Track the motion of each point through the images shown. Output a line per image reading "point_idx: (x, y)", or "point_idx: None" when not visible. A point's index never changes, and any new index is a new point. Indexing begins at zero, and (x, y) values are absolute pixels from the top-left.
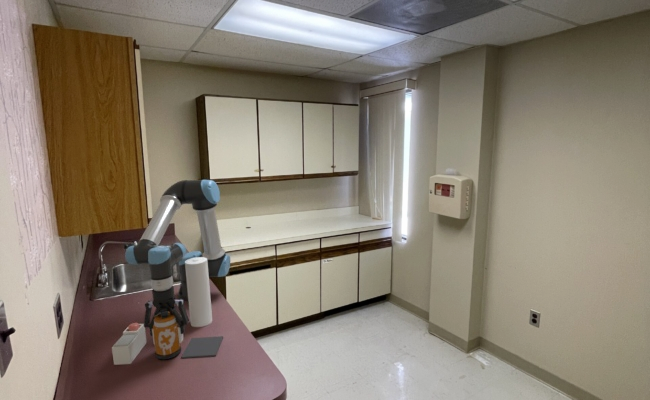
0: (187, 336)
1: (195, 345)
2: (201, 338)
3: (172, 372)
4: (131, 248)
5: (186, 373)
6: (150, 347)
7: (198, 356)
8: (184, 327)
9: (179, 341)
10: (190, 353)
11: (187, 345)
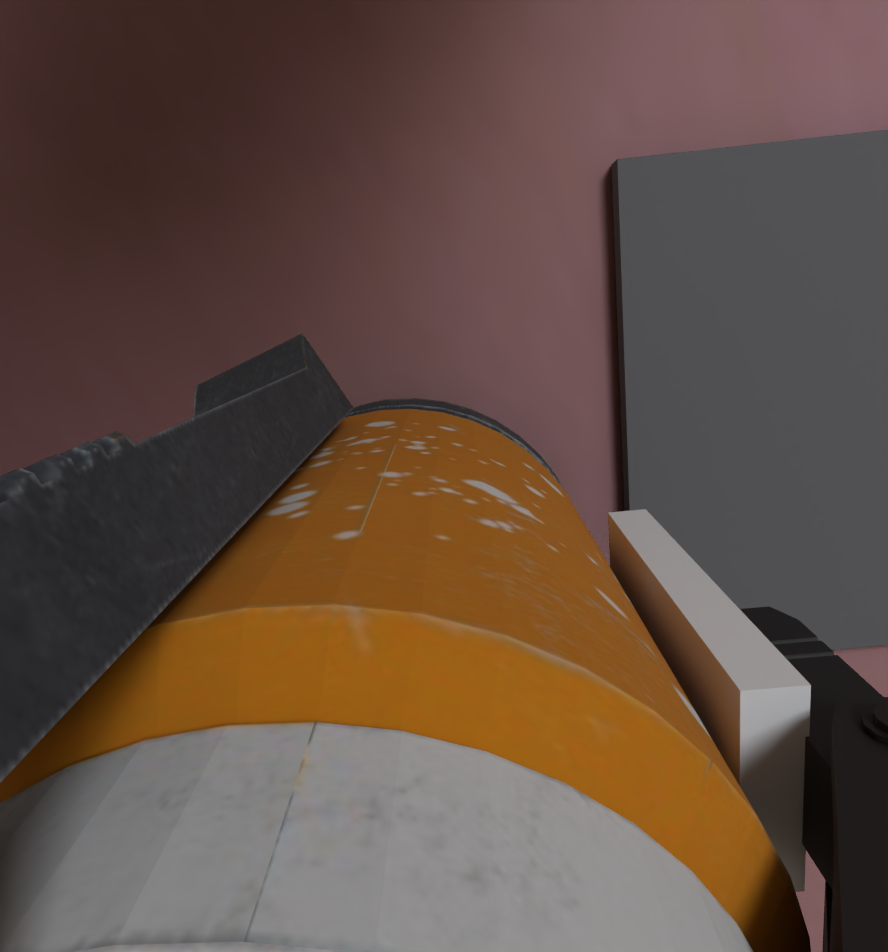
0: (495, 58)
1: (758, 394)
2: (803, 174)
3: None
4: None
5: None
6: (39, 400)
7: (869, 642)
8: (855, 687)
9: None
10: (744, 594)
11: (627, 394)
